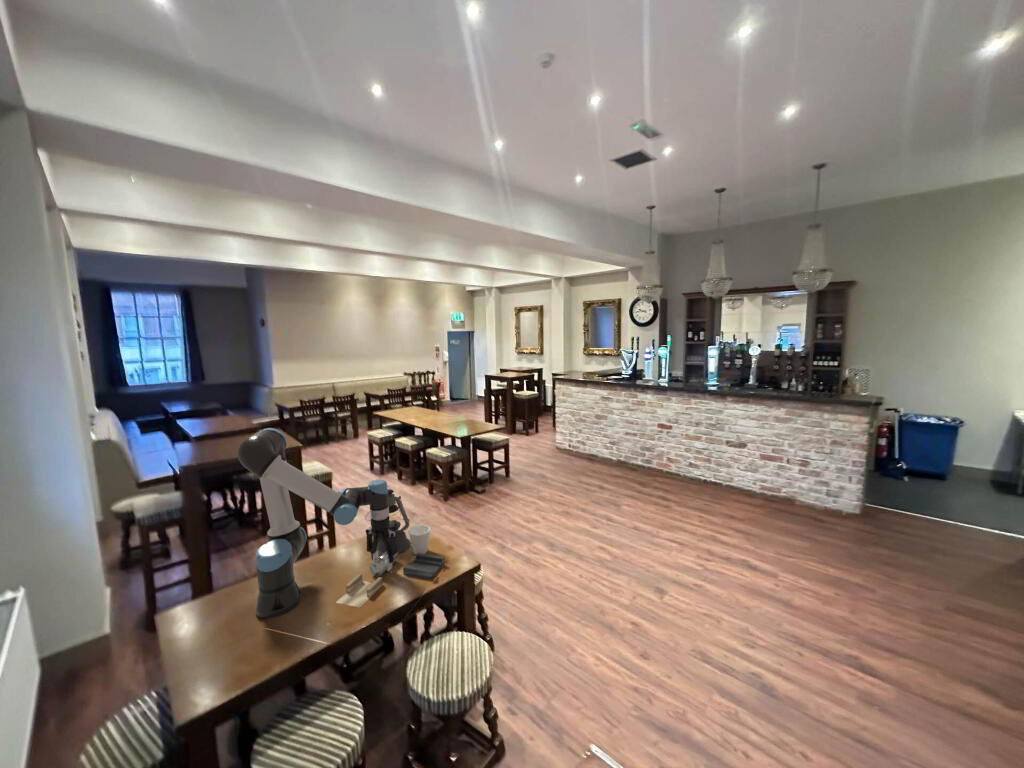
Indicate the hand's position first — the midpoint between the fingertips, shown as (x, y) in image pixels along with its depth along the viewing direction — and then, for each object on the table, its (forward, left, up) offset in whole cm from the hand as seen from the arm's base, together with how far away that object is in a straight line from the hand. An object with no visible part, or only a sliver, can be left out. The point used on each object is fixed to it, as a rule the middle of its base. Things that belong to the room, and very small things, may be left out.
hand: (382, 568), depth 172 cm
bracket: (0, -16, -1) cm, 16 cm away
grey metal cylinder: (0, +1, -1) cm, 2 cm away
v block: (+17, +5, -1) cm, 18 cm away
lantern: (-9, +19, -2) cm, 21 cm away
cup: (+8, +17, -2) cm, 19 cm away
